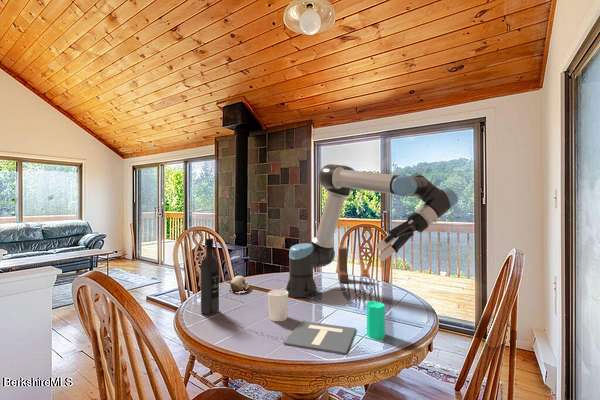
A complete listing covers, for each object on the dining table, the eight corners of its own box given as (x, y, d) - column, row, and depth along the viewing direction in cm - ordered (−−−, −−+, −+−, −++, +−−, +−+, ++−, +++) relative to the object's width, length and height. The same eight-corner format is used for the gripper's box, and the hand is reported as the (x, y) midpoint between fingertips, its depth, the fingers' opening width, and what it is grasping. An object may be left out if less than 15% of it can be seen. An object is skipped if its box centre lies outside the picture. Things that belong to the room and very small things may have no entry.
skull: (241, 283, 164) (249, 271, 160) (250, 299, 159) (259, 287, 154) (221, 287, 155) (230, 274, 151) (230, 305, 150) (239, 292, 146)
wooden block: (348, 283, 167) (348, 250, 167) (340, 283, 167) (339, 250, 167) (346, 278, 176) (346, 247, 176) (338, 278, 176) (338, 247, 176)
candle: (364, 331, 106) (364, 297, 106) (381, 330, 107) (381, 296, 107) (369, 339, 100) (369, 303, 100) (387, 338, 101) (387, 302, 101)
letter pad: (283, 344, 97) (283, 342, 97) (301, 322, 114) (301, 320, 114) (346, 354, 91) (346, 352, 91) (355, 329, 108) (355, 327, 108)
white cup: (272, 324, 113) (272, 297, 113) (265, 316, 120) (264, 291, 120) (292, 320, 117) (291, 293, 117) (283, 313, 124) (283, 288, 124)
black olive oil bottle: (220, 311, 127) (219, 238, 126) (210, 315, 122) (209, 240, 121) (210, 308, 129) (209, 237, 129) (199, 313, 124) (199, 239, 124)
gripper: (432, 212, 105) (385, 251, 104) (426, 236, 126) (387, 269, 125) (415, 198, 109) (370, 235, 108) (413, 224, 130) (374, 255, 129)
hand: (379, 254), depth 116 cm, fingers open, 13 cm apart
